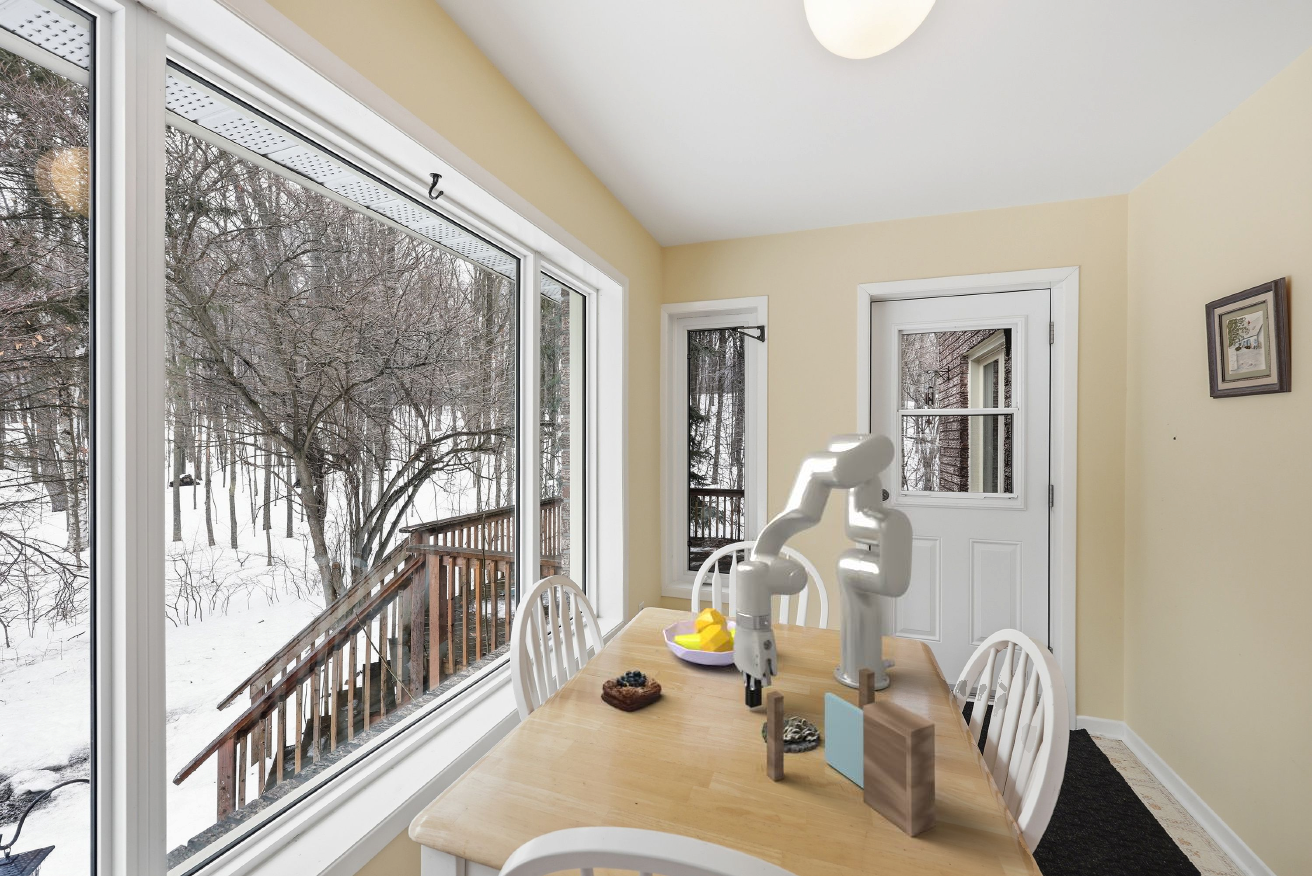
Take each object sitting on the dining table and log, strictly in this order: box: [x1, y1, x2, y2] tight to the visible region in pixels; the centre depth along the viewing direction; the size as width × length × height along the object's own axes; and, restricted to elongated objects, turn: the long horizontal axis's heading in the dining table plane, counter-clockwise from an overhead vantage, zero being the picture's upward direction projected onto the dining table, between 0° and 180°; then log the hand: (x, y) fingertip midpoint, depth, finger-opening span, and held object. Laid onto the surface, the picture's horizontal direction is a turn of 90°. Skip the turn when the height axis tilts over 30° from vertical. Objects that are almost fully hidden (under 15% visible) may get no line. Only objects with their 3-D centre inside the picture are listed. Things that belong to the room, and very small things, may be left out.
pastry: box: [600, 670, 662, 713], centre depth 122 cm, size 11×12×6 cm
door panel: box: [824, 692, 863, 789], centre depth 93 cm, size 1×10×12 cm, turn 27°
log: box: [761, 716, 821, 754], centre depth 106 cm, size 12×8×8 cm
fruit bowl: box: [662, 607, 736, 667], centre depth 146 cm, size 28×27×11 cm
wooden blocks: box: [766, 668, 936, 838], centre depth 89 cm, size 24×21×15 cm
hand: (753, 705), depth 116 cm, fingers closed
